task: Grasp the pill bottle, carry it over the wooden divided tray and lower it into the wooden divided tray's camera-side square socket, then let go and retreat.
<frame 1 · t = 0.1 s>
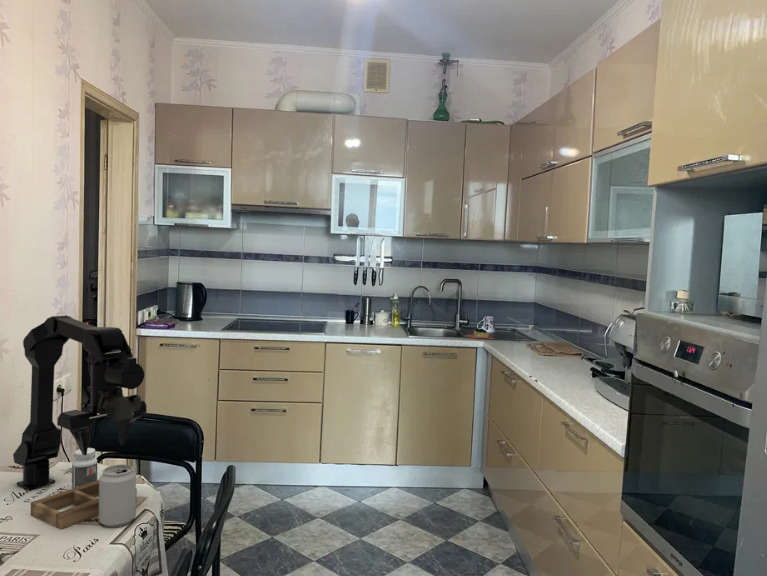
hand: (103, 449, 133), 15 cm above the table, fingers open, 9 cm apart
wooden divided tray: (85, 507, 135), on the table
can: (117, 521, 129), on the table
pill bottle: (84, 490, 146), on the table
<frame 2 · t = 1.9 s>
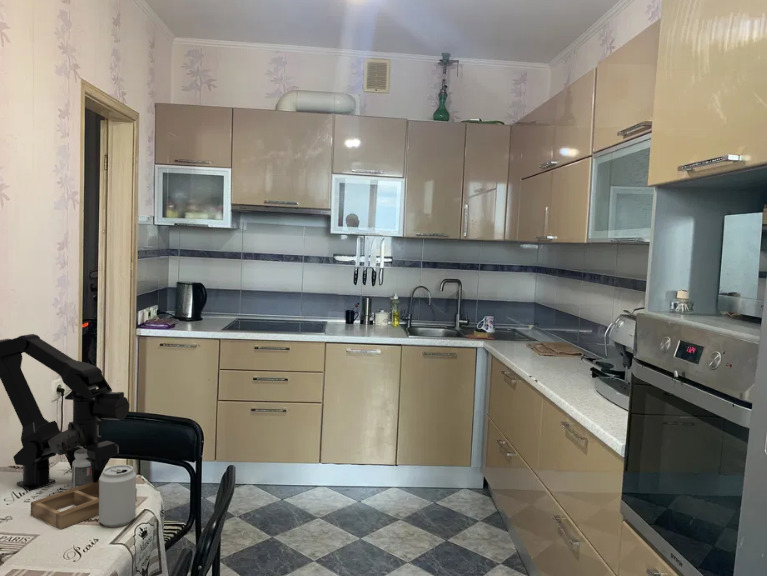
hand: (85, 478, 145), 3 cm above the table, fingers open, 8 cm apart
nothing on the table moved.
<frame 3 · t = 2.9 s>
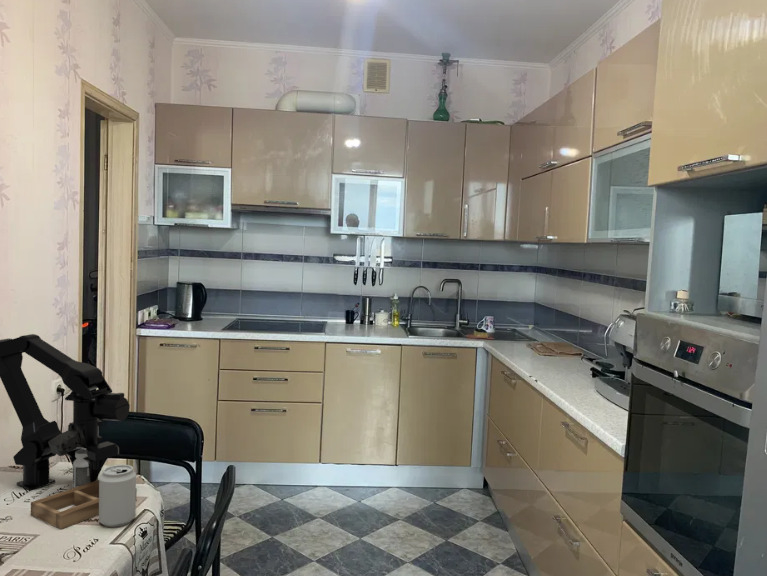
hand: (85, 479, 145), 3 cm above the table, fingers closed on pill bottle, 6 cm apart
pill bottle: (85, 490, 146), on the table, touching gripper
everything else where it was.
when the fingers open (4 cm above the table, at t = 6.7 s): pill bottle drops 1 cm, resting in wooden divided tray.
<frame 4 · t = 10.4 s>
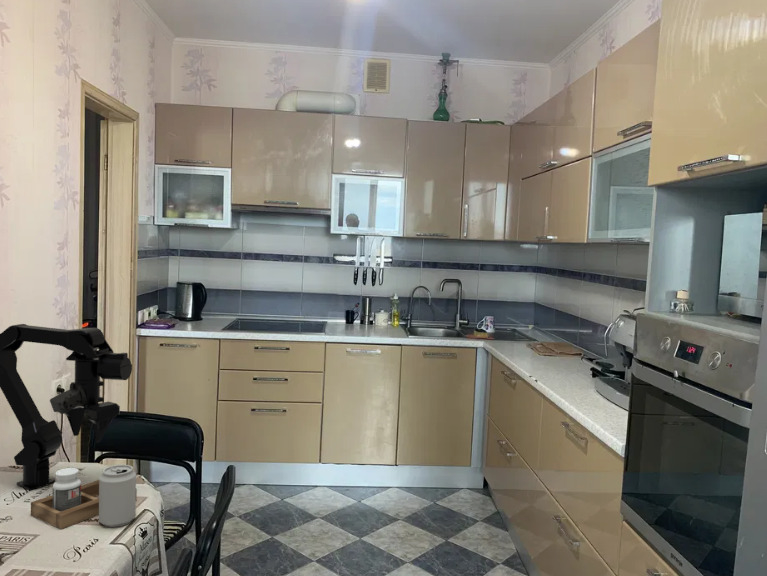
hand: (86, 438, 146), 13 cm above the table, fingers open, 9 cm apart
pill bottle: (66, 515, 132), resting in wooden divided tray
everything else where it was.
at the end: pill bottle 0.1 cm from the target spot on the wooden divided tray, point 0.0 cm above the wooden divided tray's base; pill bottle tilted 0°; the gripper is holding nothing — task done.
